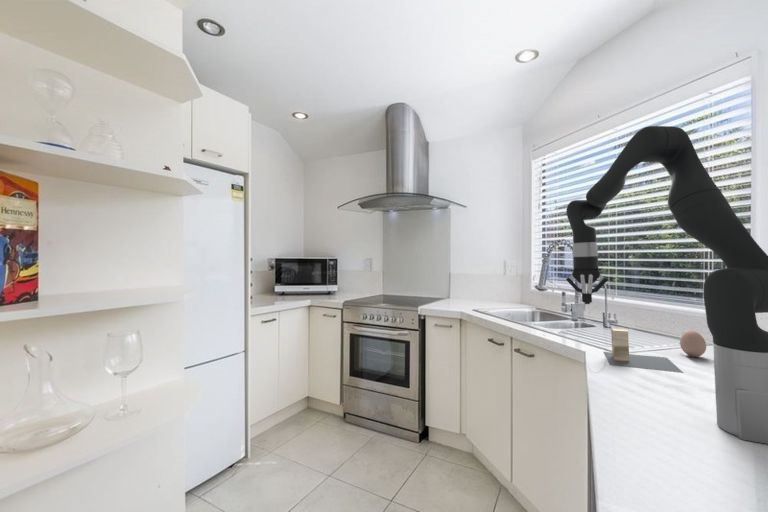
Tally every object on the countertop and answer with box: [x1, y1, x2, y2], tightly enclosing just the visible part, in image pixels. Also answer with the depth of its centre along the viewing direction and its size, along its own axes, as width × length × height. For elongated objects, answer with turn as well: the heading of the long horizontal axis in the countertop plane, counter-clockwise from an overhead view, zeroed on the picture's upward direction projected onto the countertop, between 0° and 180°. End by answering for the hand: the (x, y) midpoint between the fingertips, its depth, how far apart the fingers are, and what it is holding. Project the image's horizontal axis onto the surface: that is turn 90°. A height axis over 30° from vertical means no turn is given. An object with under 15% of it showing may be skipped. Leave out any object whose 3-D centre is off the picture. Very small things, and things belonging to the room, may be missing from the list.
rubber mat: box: [603, 351, 684, 374], centre depth 105 cm, size 16×18×1 cm
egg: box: [679, 329, 707, 358], centre depth 110 cm, size 7×7×9 cm
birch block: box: [610, 327, 630, 362], centre depth 107 cm, size 5×4×10 cm
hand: (587, 303), depth 112 cm, fingers closed
